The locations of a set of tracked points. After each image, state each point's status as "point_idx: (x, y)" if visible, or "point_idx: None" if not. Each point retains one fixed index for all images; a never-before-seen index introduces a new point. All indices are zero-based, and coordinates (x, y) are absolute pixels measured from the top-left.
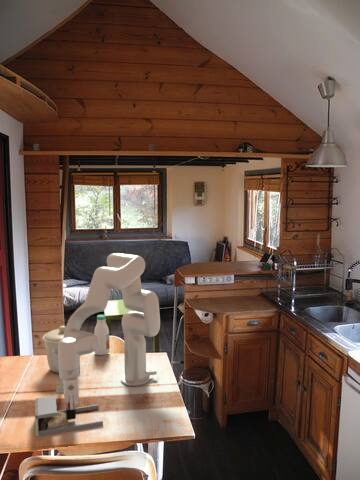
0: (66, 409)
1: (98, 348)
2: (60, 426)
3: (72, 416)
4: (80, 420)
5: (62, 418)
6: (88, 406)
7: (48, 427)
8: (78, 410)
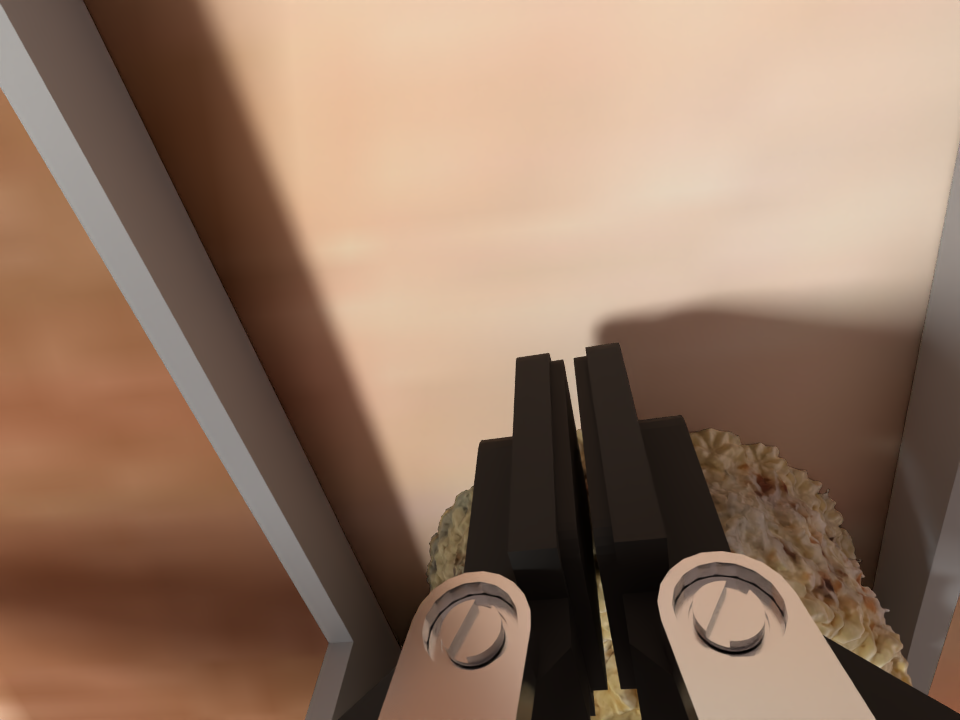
0: (589, 683)
1: None
2: (848, 560)
3: (687, 449)
4: (585, 207)
5: None
6: (20, 58)
7: None
8: (209, 301)
